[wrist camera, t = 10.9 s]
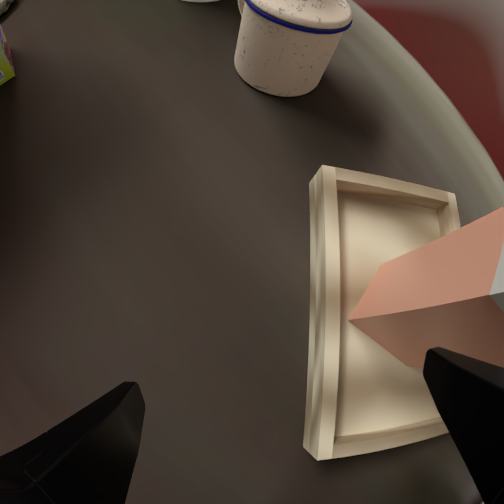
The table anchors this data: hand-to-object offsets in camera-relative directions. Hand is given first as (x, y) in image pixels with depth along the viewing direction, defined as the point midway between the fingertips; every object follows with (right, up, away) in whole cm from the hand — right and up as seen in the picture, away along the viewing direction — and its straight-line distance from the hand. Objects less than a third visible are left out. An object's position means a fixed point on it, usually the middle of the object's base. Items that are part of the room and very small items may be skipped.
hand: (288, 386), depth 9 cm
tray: (+9, -1, +15) cm, 17 cm away
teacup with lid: (+1, +23, +20) cm, 30 cm away
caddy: (+10, -1, +13) cm, 16 cm away
